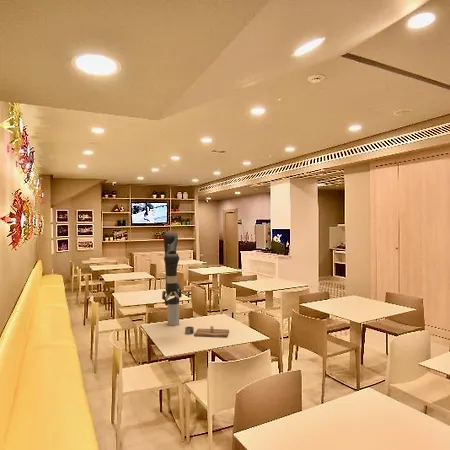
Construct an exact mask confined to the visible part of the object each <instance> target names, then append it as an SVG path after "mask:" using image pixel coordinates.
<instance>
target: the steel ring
mask: <svg viewBox="0 0 450 450" xmlns="http://www.w3.org/2000/svg"><path fill="white" fill-rule="evenodd" d="M184 329H185V330H184V334H186V335H194V334H195V332H194V331H195V330H194V329H195V327H194V326H186V327H185V328H184Z"/></svg>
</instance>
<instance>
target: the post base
mask: <svg viewBox="0 0 450 450" xmlns="http://www.w3.org/2000/svg"><path fill="white" fill-rule="evenodd" d="M229 333H230V329H223V328H222V329H220V328H219V329H218V328H214V326H213V325H211V326H210V328H197V329H196V331H195V332H194V333H193V336H194V337H201V338H203V337H204V338H225V339H227V338H228V336H229Z"/></svg>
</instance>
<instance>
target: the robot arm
mask: <svg viewBox="0 0 450 450" xmlns="http://www.w3.org/2000/svg"><path fill="white" fill-rule="evenodd" d="M178 241H179V239H178V233H177V232H164V233H163V246H164V247H163V248H164V249H163V250H164V258H163V261H164V269H165V290H162V295H161V300H163V301H164V305H165V306H167V326H168V327H169V326H170V327H176V326H179V325H180V298H182V297H183V295H182V289H181V288H180V285H179V283H178V275H177V273H178V272H177V271H178V270H177V269H178V263H179V261H180V255H179V254H177V247H178ZM170 297H172V298H170Z"/></svg>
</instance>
